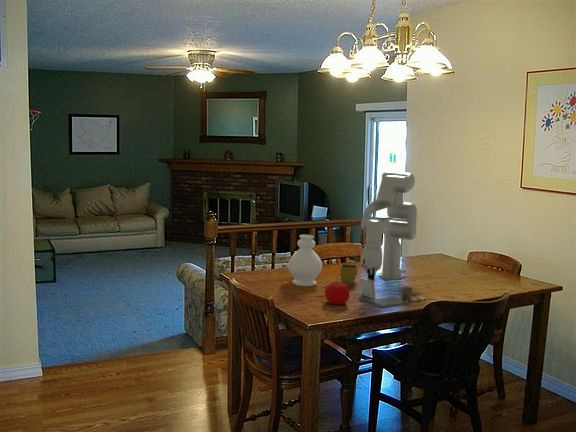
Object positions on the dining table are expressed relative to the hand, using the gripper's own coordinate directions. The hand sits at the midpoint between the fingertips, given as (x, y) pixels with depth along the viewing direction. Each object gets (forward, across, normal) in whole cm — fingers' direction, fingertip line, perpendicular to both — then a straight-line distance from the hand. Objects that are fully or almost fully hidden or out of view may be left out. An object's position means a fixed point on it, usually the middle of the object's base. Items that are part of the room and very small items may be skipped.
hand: (370, 281), depth 305 cm
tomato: (+8, +23, +3) cm, 24 cm away
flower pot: (+8, -6, -25) cm, 27 cm away
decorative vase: (+8, +16, -34) cm, 38 cm away
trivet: (+7, 0, +13) cm, 15 cm away
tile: (+7, +1, 0) cm, 7 cm away
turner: (+7, -16, +14) cm, 22 cm away
